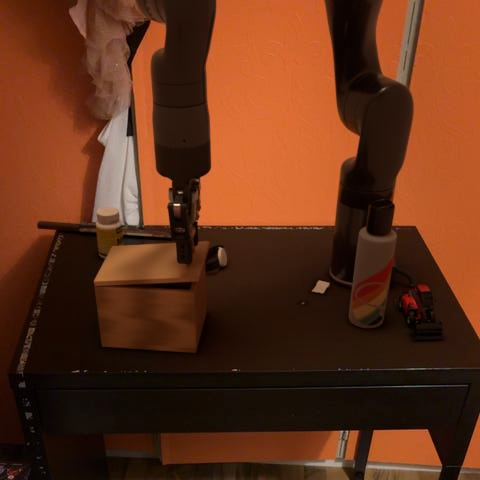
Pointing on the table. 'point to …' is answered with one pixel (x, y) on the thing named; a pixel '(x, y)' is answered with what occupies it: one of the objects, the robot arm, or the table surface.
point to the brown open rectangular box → (152, 315)
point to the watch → (220, 260)
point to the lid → (150, 264)
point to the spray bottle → (373, 266)
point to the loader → (421, 313)
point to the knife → (91, 228)
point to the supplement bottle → (108, 230)
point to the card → (320, 287)
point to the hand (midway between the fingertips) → (188, 253)
